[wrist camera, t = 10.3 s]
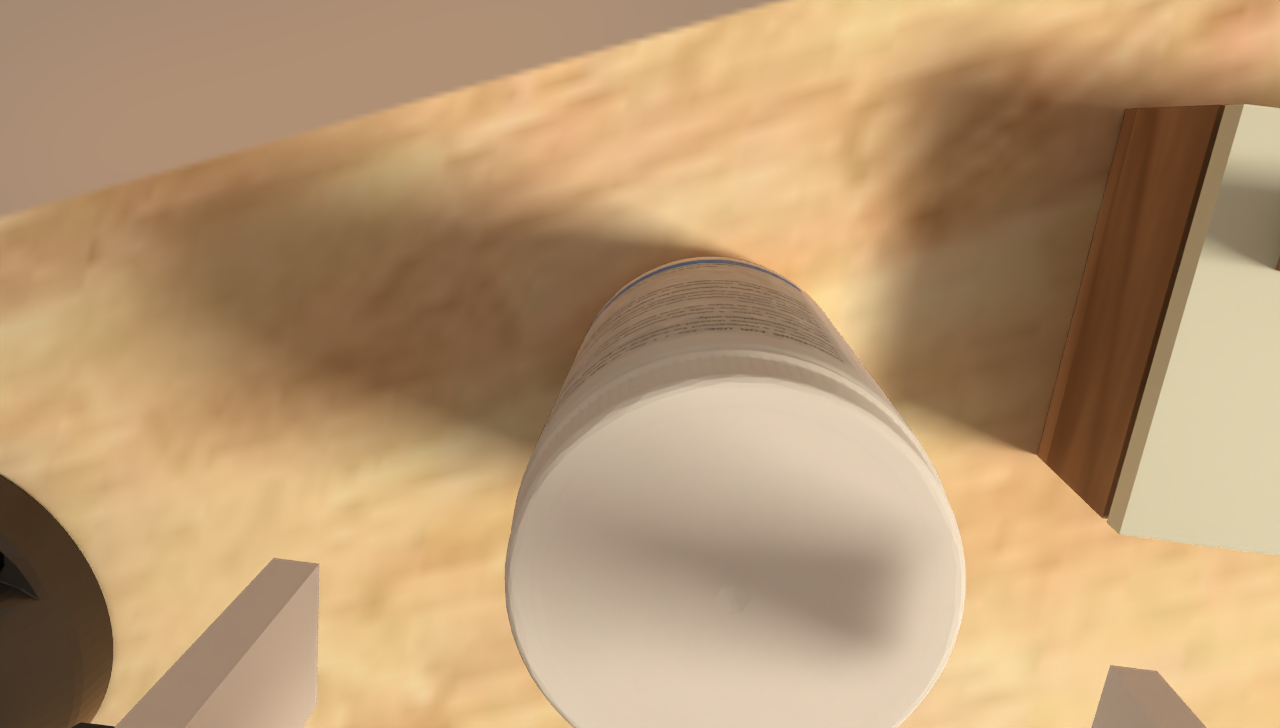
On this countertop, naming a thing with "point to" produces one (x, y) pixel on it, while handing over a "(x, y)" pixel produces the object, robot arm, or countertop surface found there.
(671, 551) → the supplement tub
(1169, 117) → the box
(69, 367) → the countertop surface
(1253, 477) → the lid
